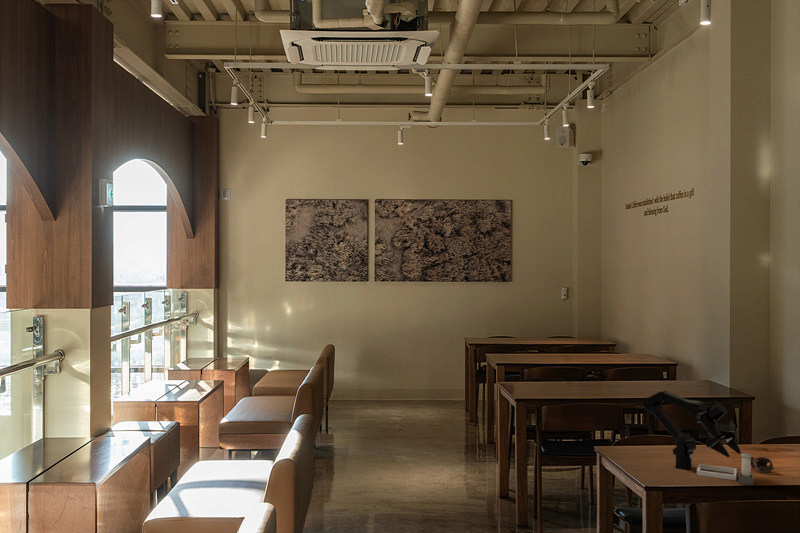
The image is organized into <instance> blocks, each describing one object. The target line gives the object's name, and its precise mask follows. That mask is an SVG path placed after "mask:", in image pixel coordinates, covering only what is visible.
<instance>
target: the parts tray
mask: <svg viewBox="0 0 800 533" xmlns="http://www.w3.org/2000/svg"><path fill="white" fill-rule="evenodd" d="M707 470H708V471H707ZM737 472H738V470H737V467H736V468H735V467H728V466H718V465H711V464H703V463H698V466H697V468H696V475H697V476H701V477H707V478H708V477H709V478H715V479H723V480H730V481H737Z"/></svg>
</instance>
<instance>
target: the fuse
mask: <svg viewBox="0 0 800 533" xmlns="http://www.w3.org/2000/svg"><path fill="white" fill-rule="evenodd" d="M740 456H741V473H742V477H749V478H751V475H752V473H751V472H752V469H751V468H752V466H751V457H752V454H751V453H747V452H741V453H740Z"/></svg>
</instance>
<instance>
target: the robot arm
mask: <svg viewBox="0 0 800 533" xmlns="http://www.w3.org/2000/svg"><path fill="white" fill-rule="evenodd" d="M664 401H666V402H668V403H670V404H673V405H675V406H677V407H680V408H683V409H684V410H685V411H686V413H689V414H690V415H692V416H696V417H695V422H694V424H698V423H701V425H702V426H703V428H704V429H705V430H706V431H705V433H706V434H709V435H710V437H709V438H708V439H707V440H705V441H704V442H705V443H704V444H705V446H706V447H707V449H709V448H710V449H711V450H714V451H715V452H718V453H720V454H721V455H723V456H725V457H726V458H730V457H731V455H730V454H729V452H728V450H727V449H726V448H725V446H724V443H725V444H726V446H728V447H729V448H730V449H732V451H734V452H735V453H737V454H738V455H741V453H742V452H741V449H740V446H739V444H738V439H737V438H739V433H738V432H737V431H736V424H735V423H734V422H733V421H732V420H730V421H726V424H721V423H718V422H717V421H719V420H720V419H721V418H722V417H723V416H724V415H726V414H727V413H728V410H727V407H726V406H725V405H723V403H720V402H718V400H715V401H713V402H712V403H711V404H710V405H708V404H705V402H703V401H700V400H695V399H694V400H693V399H692V400H691V399H687V398H684V397H682V396H680V395H676V394H674V393H671V392H669V391H667V390H660V391H659V392H657V393H654V394H653V395H650V396H647V397H644V398H643V399H642V404H641V405H642V407H643V408H644V409H645V410H646V411H647V412H648V413H650V414H652V415H654V416H655V417H656V419H658V421H659V422H660V423H661V424H662V426H663V427H664V428H665V430H667V432H668V433H669V434H670V436H671V437H672V438H673V440H674V445H675V447H674V448H673V449H672V450H671V451H672V454H673V455H674V456H675V466H674V467H676V468H675V469H680V468H682V470H688V469H690V470H691V468H692V467H693V463H692V462H693V458H692V457H691V455H693V454H694V452H695V451H696V450H697V443H696V440H695V439H694V438H693V437H692V436H691V434H690V433H684V432H683V431H682V430H681V429H680V428H679V426H677V424H676V423H675V422H674V421H673V419H671V417H670V416H669V415H668V414H667V412H666V411H665V410H664V407H663V404H662V403H663V402H664ZM698 415H699V416H698Z"/></svg>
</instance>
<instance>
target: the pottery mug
mask: <svg viewBox="0 0 800 533" xmlns="http://www.w3.org/2000/svg"><path fill="white" fill-rule="evenodd" d="M768 463H769V465H768ZM751 468H752V469H754V473H757V474H758V473H759V474H763V473H769V472H771V471H772V470H775V469H774V464H773V461H772V460H771V459H770V458H767V457H765V456H758V457H754V456H751Z"/></svg>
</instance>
